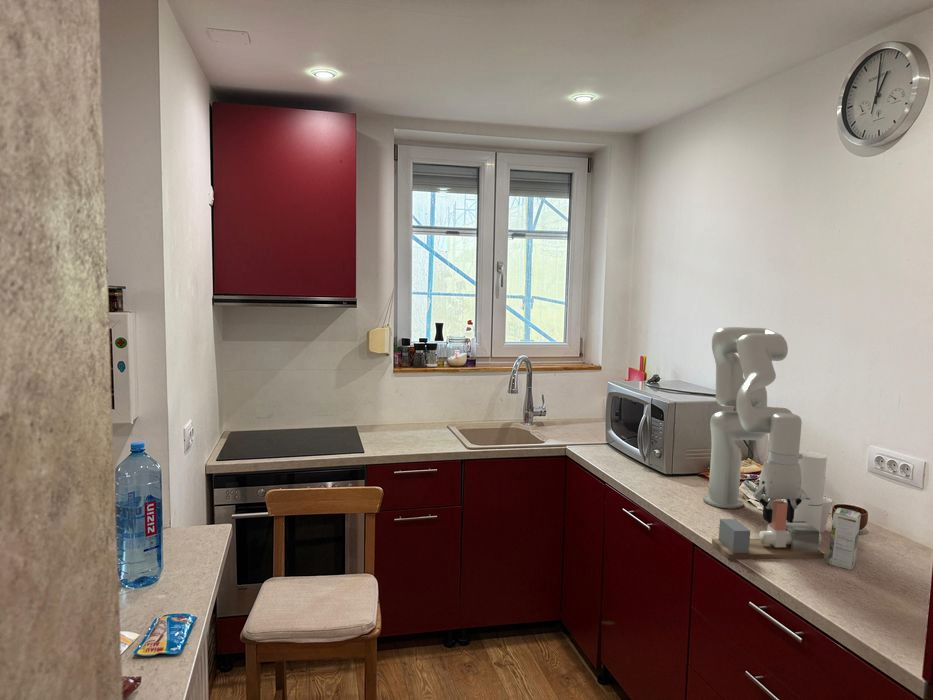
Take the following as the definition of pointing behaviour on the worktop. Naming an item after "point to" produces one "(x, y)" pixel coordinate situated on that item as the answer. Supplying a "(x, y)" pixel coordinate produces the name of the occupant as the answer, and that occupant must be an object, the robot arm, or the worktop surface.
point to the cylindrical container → (811, 488)
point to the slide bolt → (778, 527)
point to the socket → (734, 535)
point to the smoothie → (825, 512)
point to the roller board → (800, 547)
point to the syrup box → (844, 538)
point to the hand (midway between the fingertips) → (777, 520)
